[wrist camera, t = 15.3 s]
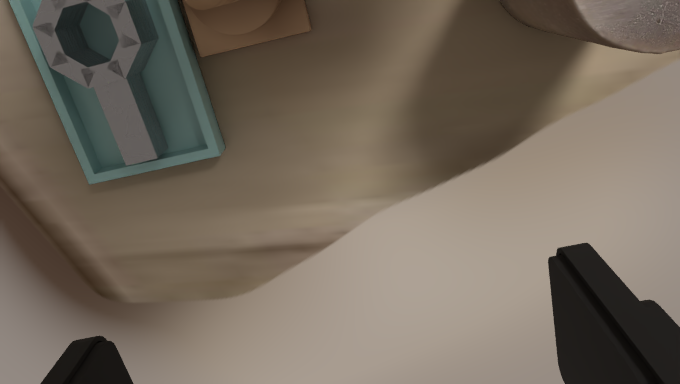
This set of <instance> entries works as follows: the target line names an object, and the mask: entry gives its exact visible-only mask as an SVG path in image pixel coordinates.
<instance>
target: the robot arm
mask: <svg viewBox="0 0 680 384" xmlns="http://www.w3.org/2000/svg"><path fill="white" fill-rule="evenodd" d="M548 264H549V276H550V285H551V295H552V305H553V316H554V325H555V336H556V346H557V356H558V365H559V369H560V372H561V376H562V378H563V381H564V383H565V384H680V327H679V326H678V325H677V324H676V323H675V322H674V321H673V320H672V319H671V317H670V316H669V315H668V314H667V313H666V312H665V311H664V310H663V309H662V308H661V307H660V306H659V305H658V304H657V303H655V302H654V301H652V300H644V301H639V300H638V299H637V297H636V296H635V295H634V294H633V293H632V292H631V291H630V289H629V288H628V287H627V286H626V285H625V284H624V283H623V282H622V280H621V279H620V278H619V277H618V276H617V275H616V274H615V273H614V271H613V270H612V269H611V268H610V267H609V266H608V265H607V264H606V262H605V261H604V260H603V259H602V258H601V257H600V256H599V255H598V253H597V252H596V251H595V250H594V249H593V248H592V247H591V245H590V244H588V243H582V244H577V245H571V246H566V247H561V248H558V249H557V253H556V256H553V257H549V260H548ZM41 384H133V382H132V380H131V378H130V375H129V373H128V371H127V369H126V367H125V365H124V363H123V361H122V359H121V357H120V354H119V352H118V350H117V348H116V346H115V345H114V343H113V342H111V341H107V340H106V339H105V338H104V337H103V336H96V337H90V338H85V339H80V340H76V341H73V342H72V343H71V344H70V345H69V346H68V348H67V349H66V350H65V352H64V353H63V354H62V356H61V357H60V358H59V360H58V361H57V362H56V364H55V365H54V367H53V368H52V369H51V370H50V372H49V373H48V374H47V376H46V377H45V378H44V380H43V381H42V382H41Z"/></svg>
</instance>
